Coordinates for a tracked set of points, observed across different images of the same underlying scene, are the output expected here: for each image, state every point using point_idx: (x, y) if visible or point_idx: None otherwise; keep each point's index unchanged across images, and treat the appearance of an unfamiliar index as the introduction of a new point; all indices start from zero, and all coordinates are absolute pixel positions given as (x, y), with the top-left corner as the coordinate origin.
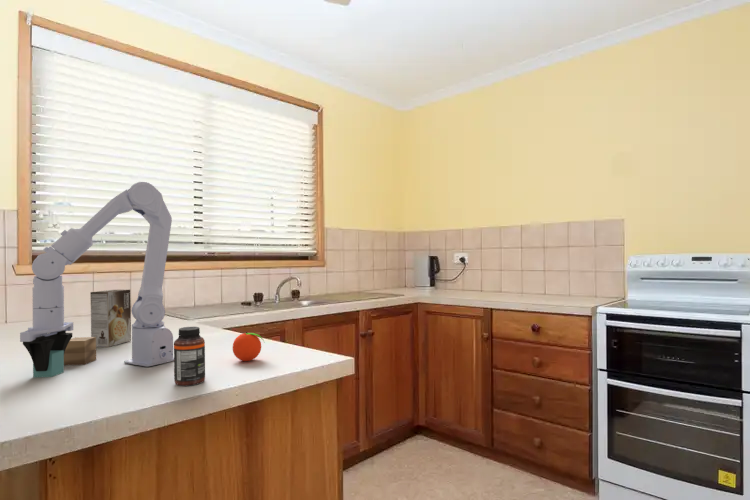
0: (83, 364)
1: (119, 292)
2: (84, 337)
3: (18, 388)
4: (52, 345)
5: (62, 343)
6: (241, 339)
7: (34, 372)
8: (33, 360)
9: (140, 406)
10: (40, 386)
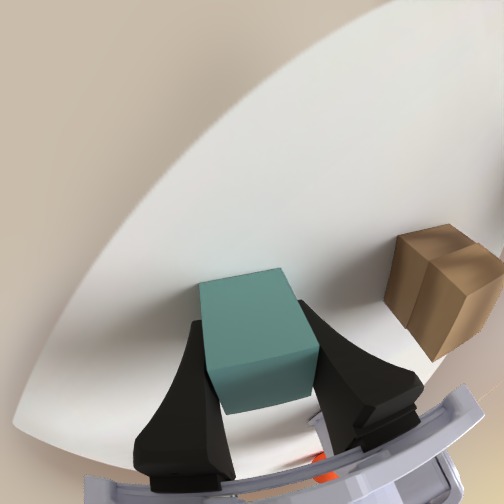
0: (384, 297)
1: None
2: (493, 303)
3: (79, 342)
4: (328, 388)
5: (325, 418)
6: (320, 481)
7: (201, 301)
8: (183, 362)
9: (120, 465)
10: (117, 374)
